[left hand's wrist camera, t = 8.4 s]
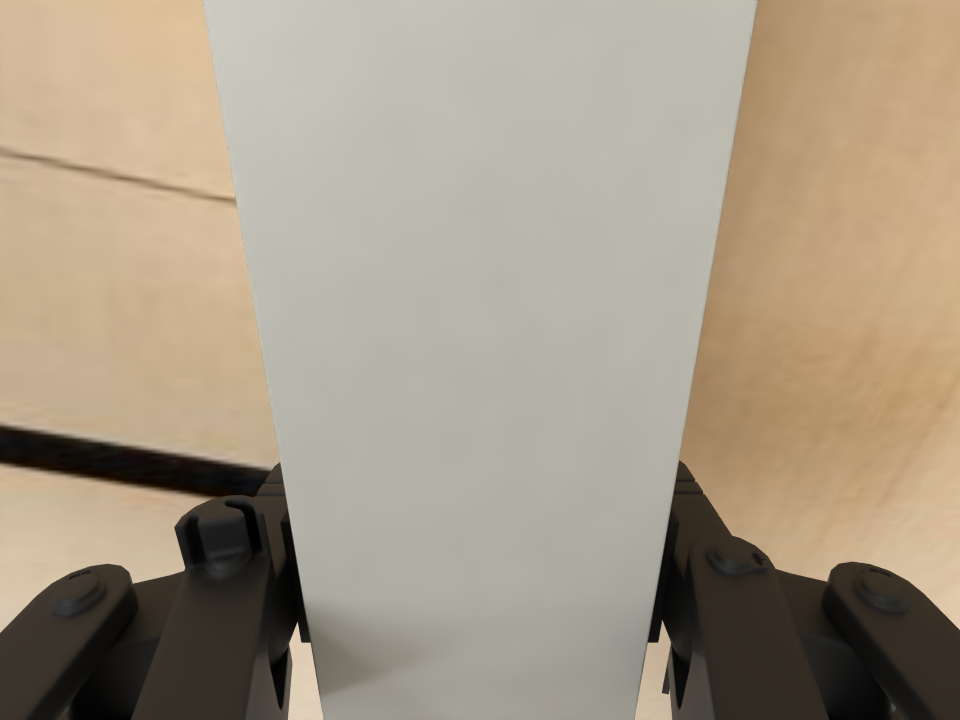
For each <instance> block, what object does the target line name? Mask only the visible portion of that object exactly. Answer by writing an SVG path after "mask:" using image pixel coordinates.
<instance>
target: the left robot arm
mask: <svg viewBox="0 0 960 720" xmlns="http://www.w3.org/2000/svg"><path fill="white" fill-rule="evenodd" d="M174 528H175V532H176V535H177V539H178V543H179V546H180V550H181V553H182V557H183V561H184V564H185V571H183V572H180V573H176V574H173V575H169V576H165V577H161V578H156V579H152V580H148V581H143V582H139V583H135V584H133V582H132V579H131V576H130V573H129V572H128V571H127V570H126V569H125V568H123V567H122V566H119V565H112V564H103V565H96V566H90V567H87V568H84V569H81V570H78V571H75V572H72V573H70V574H68V575H66V576H65V577H63V578H61V579H59V580H57V581H56V582H54V583H52V584H51V585H50V586H48V587H47V588H46V589H45V590H43V591H42V592H41V593H40V594H38V595H37V596H36V597H35V598H34V599H33V600H32V601H31V602H30V603H29V604H28V605H27V606H26V607H25V608H24V609H23V610H22V611H21V612H20V613H19V614H18V615H17V617H16V618H15V619H14V620H13V621H12V622H11V623H10V624H9V625H8V626H7V627H6V628H5V629H4V630H3V631H2V632H1V633H0V720H288V710H289V698H290V686H291V674H292V658H291V652H290V647H289V642H290V640H291V637H292V635H293V632H294V629H295V627H296V624H297V622H298V626H299V631H300V637H301V642H302V643H311V642H310V636H309V630H308V624H307V618H306V612H305V606H304V600H303V594H302V588H301V582H300V576H299V570H298V564H297V558H296V552H295V546H294V540H293V535H292V529H291V523H290V517H289V511H288V505H287V499H286V493H285V487H284V481H283V475H282V469H281V463H278V464H277V465H276V466H274V468H273V470H272V471H271V473H270V474H269V476H268V477H267V479H266V480H265V484H263V485H262V486H261V488H260V489H259V491H258V492H257V496H255V497H254V498H252V497H248V496H244V495H235V496H224V497H220V498H216V499H212V500H209V501H207V502H205V503H203V504H201V505H198V506H196V507H194V508H193V509H192V510H190V511H189V512H188V513H186V514H185V515H184V516H182V517H181V519H180V520H179V522H178V523H177V524H176V526H175V527H174ZM662 620H663V623H664V625H665V628H666V630H667V633H668V635H669V638H670V641H671V647H670V652H669V657H668V662H667V667H666V673H665V678H664V683H663V690H662V693H664V694H669V689H670V697H671V709H672V720H960V630H959V629H958V628H957V627H956V626H955V625H954V624H953V623H952V622H951V621H950V620H949V619H948V618H947V617H946V616H945V615H944V614H943V613H942V612H941V611H940V610H939V609H938V608H937V607H936V606H935V605H934V604H933V602H932V601H931V600H930V599H929V598H928V597H927V596H926V595H925V594H924V593H922V592H921V591H920V590H919V589H917V588H916V587H915V586H914V585H912V584H911V583H910V582H909V581H907V580H905V579H903V578H902V577H900V576H898V575H896V574H894V573H892V572H891V571H888V570H885V569H883V568H880V567H877V566H874V565H871V564H865V563H858V562H847V563H841V564H838V565H837V566H836V567H834V568H833V569H832V570H831V572H830V575H829V578H828V581H827V582H826V581H821V580H817V579H813V578H808V577H804V576H800V575H795V574H791V573H787V572H784V571H781V570H777V569H775V567H774V566H773V564H772V562H771V561H770V559H769V558H768V556H767V555H766V554H764V553H763V552H762V551H761V550H760V549H759V548H757V547H756V546H755V545H753V544H751V543H749V542H747V541H745V540H743V539H741V538H738V537H735V536H732V535H731V533H730V532H729V530H728V529H727V527H726V526H725V524H724V523H723V521H722V520H721V518H720V517H719V515H718V514H717V512H716V511H715V509H714V507H713V506H712V504H711V503H710V501H709V500H708V498H707V497H706V495H703V491H702V489H701V488H700V486H699V485H698V483H697V482H695V479H694V477H693V476H692V474H691V472H690V471H689V469H688V468H687V466H686V465H685V464H684V463H682V462H681V461H680V460H679V463H678V468H677V474H676V480H675V486H674V492H673V498H672V503H671V509H670V515H669V521H668V527H667V532H666V538H665V544H664V550H663V556H662V562H661V567H660V573H659V579H658V585H657V591H656V596H655V602H654V608H653V614H652V620H651V626H650V631H649V637H648V643H658V641H659V635H660V630H661V624H662Z"/></svg>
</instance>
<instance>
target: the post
mask: <svg viewBox="0 0 960 720" xmlns="http://www.w3.org/2000/svg"><path fill="white" fill-rule="evenodd" d="M757 3H758V0H203V5H204V11H205V17H206V23H207V29H208V35H209V41H210V47H211V53H212V59H213V65H214V71H215V77H216V83H217V89H218V95H219V101H220V107H221V112H222V118H223V124H224V130H225V136H226V142H227V148H228V154H229V160H230V166H231V172H232V178H233V184H234V190H235V196H236V202H237V208H238V214H239V219H240V225H241V231H242V237H243V243H244V249H245V255H246V261H247V267H248V273H249V279H250V285H251V291H252V297H253V303H254V309H255V315H256V321H257V326H258V332H259V338H260V344H261V350H262V356H263V362H264V368H265V374H266V380H267V386H268V392H269V398H270V404H271V410H272V416H273V422H274V428H275V433H276V439H277V445H278V451H279V457H280V463H281V469H282V475H283V481H284V487H285V493H286V499H287V505H288V511H289V517H290V523H291V529H292V535H293V540H294V546H295V552H296V558H297V564H298V570H299V576H300V582H301V588H302V594H303V600H304V606H305V612H306V618H307V624H308V630H309V636H310V642H311V647H312V653H313V659H314V665H315V671H316V677H317V683H318V689H319V695H320V701H321V707H322V713H323V719H324V720H634V719H635V713H636V707H637V701H638V695H639V690H640V684H641V678H642V672H643V666H644V660H645V655H646V649H647V643H648V637H649V631H650V626H651V620H652V614H653V608H654V602H655V596H656V591H657V585H658V579H659V573H660V567H661V562H662V556H663V550H664V544H665V538H666V532H667V527H668V521H669V515H670V509H671V503H672V498H673V492H674V486H675V480H676V474H677V468H678V463H679V457H680V451H681V445H682V439H683V434H684V428H685V422H686V416H687V410H688V404H689V399H690V393H691V387H692V381H693V375H694V370H695V364H696V358H697V352H698V346H699V340H700V335H701V329H702V323H703V317H704V311H705V306H706V300H707V294H708V288H709V282H710V276H711V271H712V265H713V259H714V253H715V247H716V242H717V236H718V230H719V224H720V218H721V212H722V207H723V201H724V195H725V189H726V183H727V178H728V172H729V166H730V160H731V154H732V148H733V143H734V137H735V131H736V125H737V119H738V114H739V108H740V102H741V96H742V90H743V84H744V79H745V73H746V67H747V61H748V55H749V50H750V44H751V38H752V32H753V26H754V20H755V15H756V9H757Z"/></svg>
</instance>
